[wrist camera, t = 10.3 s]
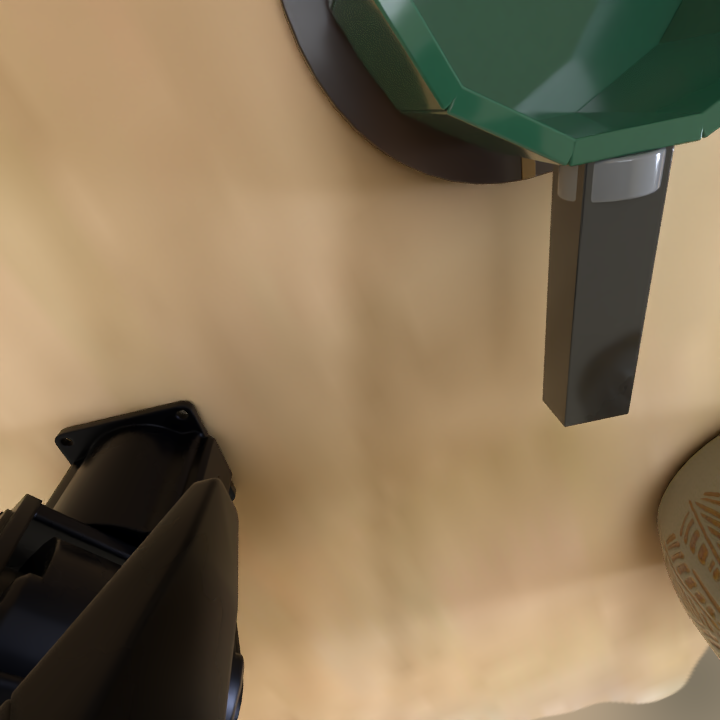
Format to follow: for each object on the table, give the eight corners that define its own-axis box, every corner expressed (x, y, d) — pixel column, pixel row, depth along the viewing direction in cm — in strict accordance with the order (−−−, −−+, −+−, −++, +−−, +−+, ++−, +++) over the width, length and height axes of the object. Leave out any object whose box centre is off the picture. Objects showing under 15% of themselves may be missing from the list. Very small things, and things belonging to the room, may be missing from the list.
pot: (232, -562, 9) (112, -1689, 3) (837, -677, 9) (1697, -1950, 3) (388, 369, 20) (419, 467, 14) (654, 314, 20) (786, 389, 14)
